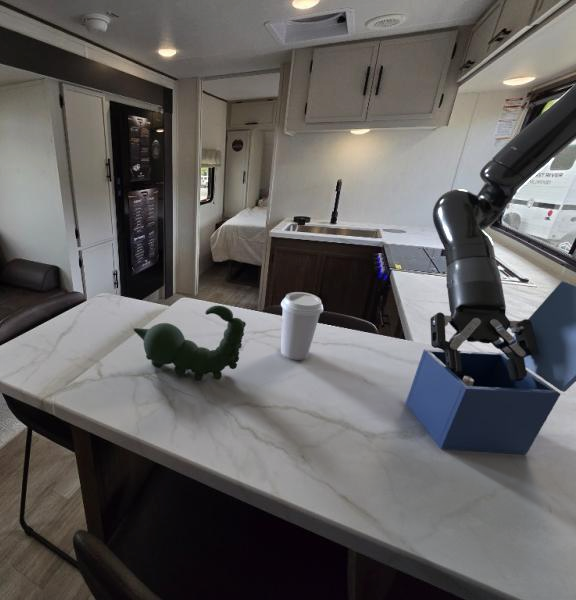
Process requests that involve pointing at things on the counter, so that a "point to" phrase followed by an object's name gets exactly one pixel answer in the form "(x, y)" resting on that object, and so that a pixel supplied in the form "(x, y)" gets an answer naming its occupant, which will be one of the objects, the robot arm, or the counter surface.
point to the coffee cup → (299, 323)
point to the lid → (555, 338)
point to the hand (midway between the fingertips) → (486, 376)
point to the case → (479, 403)
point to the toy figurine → (194, 347)
